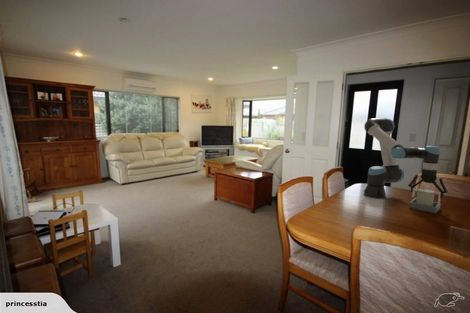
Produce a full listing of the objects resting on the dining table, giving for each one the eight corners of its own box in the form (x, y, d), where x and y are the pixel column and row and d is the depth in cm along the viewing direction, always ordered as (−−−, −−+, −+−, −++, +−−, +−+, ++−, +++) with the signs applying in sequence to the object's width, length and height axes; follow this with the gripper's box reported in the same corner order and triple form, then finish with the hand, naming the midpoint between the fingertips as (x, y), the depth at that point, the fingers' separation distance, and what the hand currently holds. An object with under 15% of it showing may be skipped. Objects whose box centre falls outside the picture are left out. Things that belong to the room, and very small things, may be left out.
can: (425, 204, 157) (428, 188, 155) (436, 209, 148) (438, 192, 146) (412, 204, 158) (414, 187, 156) (421, 208, 149) (424, 191, 147)
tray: (409, 207, 154) (409, 202, 153) (414, 203, 163) (414, 197, 162) (435, 213, 143) (436, 208, 142) (439, 208, 152) (440, 203, 151)
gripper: (405, 166, 156) (401, 196, 159) (454, 173, 137) (449, 205, 140) (408, 165, 161) (404, 194, 164) (456, 171, 142) (451, 203, 145)
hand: (425, 199), depth 152 cm, fingers open, 13 cm apart
